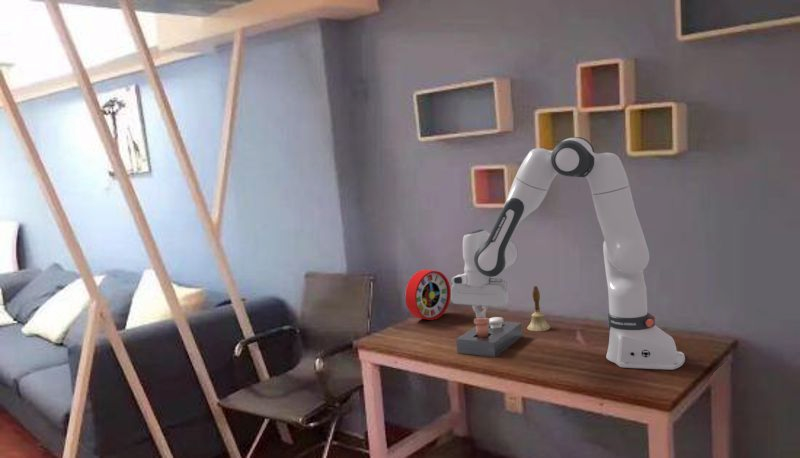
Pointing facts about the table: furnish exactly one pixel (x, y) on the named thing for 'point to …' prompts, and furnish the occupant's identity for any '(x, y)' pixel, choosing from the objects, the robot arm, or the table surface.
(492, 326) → the white plunger
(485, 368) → the table surface
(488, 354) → the button console
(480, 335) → the peach mushroom-shaped knob
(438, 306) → the toy clock
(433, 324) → the table surface
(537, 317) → the hand bell
